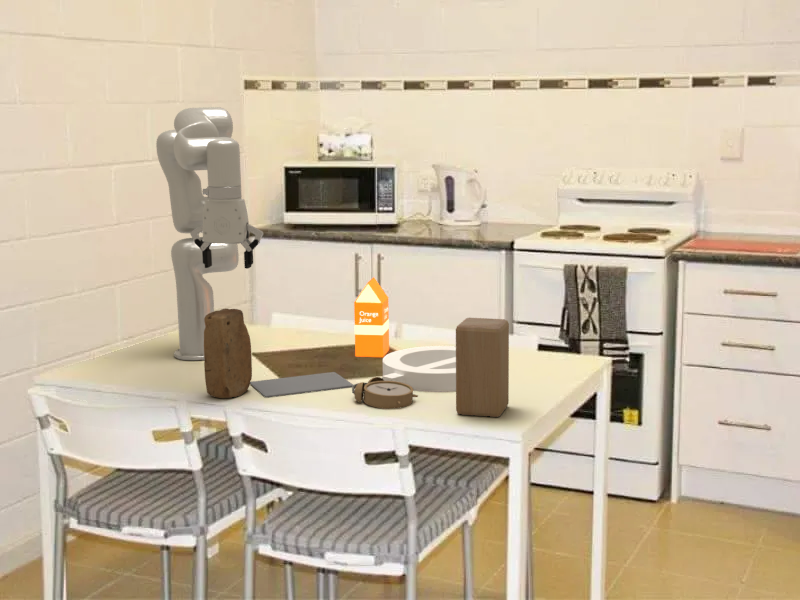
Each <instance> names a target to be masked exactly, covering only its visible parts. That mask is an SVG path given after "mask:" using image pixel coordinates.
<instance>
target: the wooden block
mask: <svg viewBox="0 0 800 600" xmlns="http://www.w3.org/2000/svg"><path fill="white" fill-rule="evenodd" d="M509 328H510V323H509V321H508V320H507V319H503V318H487V317H486V318H485V317H483V318H482V317H467V318H465V319H463V320H462V322H460V323H459V324H458V325H457V326H456V328H455V346H456V391H455V411H456V414H458V415H460V414H462V416H473V415H475V417H487V416H490V418H498V416H499V417H501V416H502V414H503V413H504V411H505V409H506V408H508V405H509V403H510V402H509V401H510V400H509V398H510V397H509V396H510V395H509V389H510V388H509V386H510V383H509V378H510V377H509V373H510V372H509V371H510V369H509V366H510V365H509V364H510V361H509V360H510V357H509V356H510V355H509V354H510V352H509V351H510V350H509V349H510V347H509V346H510V345H509V344H510V339H509V337H510V329H509Z"/></svg>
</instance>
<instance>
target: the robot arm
mask: <svg viewBox="0 0 800 600" xmlns="http://www.w3.org/2000/svg"><path fill="white" fill-rule="evenodd" d="M233 124H234V123H233V118H232V116H231V114H230V113H229V111H228V110H227V109H225V108H224V107H220V106H219V107H217V106H215V107H214V106H213V107H212V106H210V107H189V108H185V109H182V110H180V111H178V113H177V114H176V115H175V117H174V121H173V127H174V129H170V130H165V131H163V132H161V133H160V134H159V135H158V136H157V138H156V143H155V145H156V146H155V148H156V155H157V159H158V162H159V165H160V167H161V169H162V172H163V174H164V177H165V178H166V181H167V184H168V192H169V201H170V209H171V217H172V222H173V226H174V228H175V230H176V232H178V233H181V234H189V235H190V236H191V237H185V238H182V239H179V240H177V241H175V242H174V243H173V245H172V246H171V250H170V254H171V255H170V256H171V261H172V267H173V272H174V277H175V278H174V280H175V284H176V285H175V287H176V302H177V303H176V304H177V320H178V321H177V323H178V325H177V326H178V342H179V343H178V344H179V348H178V349H176V350H175V351H174V352H173V356H174V358H175V359H178V360H183V361H203V360H205V358H204V330H205V322H204V318H205V316H206V315H207V314H209V313H211V312H214V311H215V304H214V303H215V302H214V301H215V300H214V299H215V298H214V290H213V287H212V285H211V284H210V283H209V282H208V280H206V279H205V278H204V277H203V275H204V274H211V273H213V274H214V273H226V272H232V271H234V270H235V269H236V268H237V267H238V265H239V258H240V257H239V247H238V245H239V244H240V245H242V247H243V248H244V250H245V251H244V252H243V260H244V263H243V264H244V269H250V268H251V267H252V265H253V264H254V251H253V250H255V248H256V247H257V246H258V245H259V244H260V243H261V241H262V238H263V236H264V231H263V230H260V229H259V228H257V227H255V226H253V225H251V224H250V222H249V214H248V210H247V203H246V201H245V199H244V198H243V197H242V196H243V195H242V175H241V151H240V144H239V142H238V141H237V140H236V139H234V138H232V136H233V132H234V125H233ZM196 171H207V186H206V188H203V189H202V181H201V178H200V176H199V174H198V173H196ZM204 195H205V196H204ZM199 234H202V236H201V237H200V235H199ZM250 234H253V235H254V239H253V240H252V241H251V240H250V236H251V235H250Z"/></svg>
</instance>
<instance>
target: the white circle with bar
mask: <svg viewBox="0 0 800 600" xmlns="http://www.w3.org/2000/svg"><path fill="white" fill-rule="evenodd" d="M381 378H382V379H383V380H384V381H396V382H401V383H405V384H408V385H409V386H411V387H412V388H413V391H417V392H433V393H437V392H438V393H442V392H443V393H444V392H445V393H446V392H447V393H448V392H449V393H450V392H456V345H455V346H454V345H452V346H451V345H427V346H416V347H409V348H404V349H399V350H395V351H392V352H390V353H389V352H388V354H387V353H386V354H385V356H384V357H382V377H381Z"/></svg>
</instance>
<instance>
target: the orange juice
mask: <svg viewBox="0 0 800 600" xmlns="http://www.w3.org/2000/svg"><path fill="white" fill-rule="evenodd" d="M353 307H354V308H353V309H354V313H353V314H354V315H353V316H354V346H355V347H354V349H355V350H354V357H361V358H365V357H366V358H367V357H368V358H384V356H386V355H387V353H389V351H390V319H389V318H390V317H389V315H390V314H389V296H388V295H387V294H386V292H385V291H384V289H383V288H382V287H381V285H380V283H379V282H378V281H377V279H376V278H375V276H373V277H372V278H371V279H370V280H369V281H368V282H366V285H365V286H364V287H363V288H362V290H361V292H360V293H359V295H358V296H357V298H356V299H355V301H354V302H353Z"/></svg>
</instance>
